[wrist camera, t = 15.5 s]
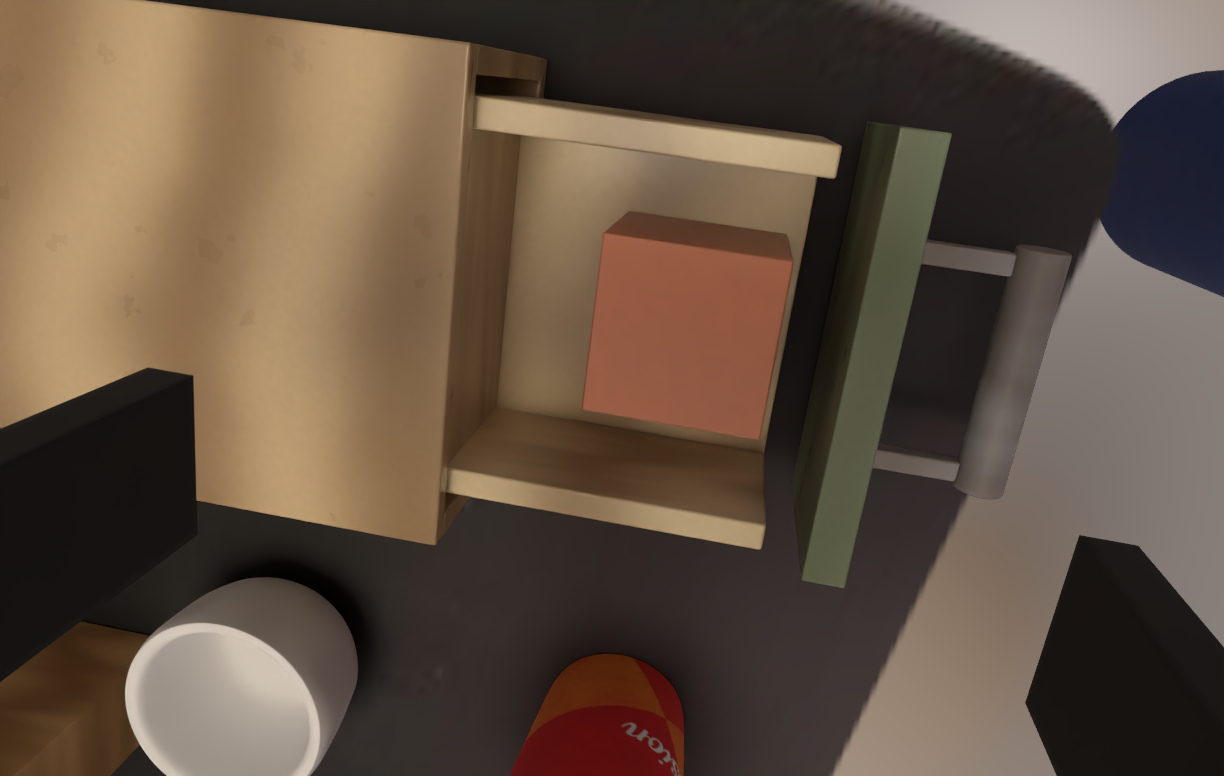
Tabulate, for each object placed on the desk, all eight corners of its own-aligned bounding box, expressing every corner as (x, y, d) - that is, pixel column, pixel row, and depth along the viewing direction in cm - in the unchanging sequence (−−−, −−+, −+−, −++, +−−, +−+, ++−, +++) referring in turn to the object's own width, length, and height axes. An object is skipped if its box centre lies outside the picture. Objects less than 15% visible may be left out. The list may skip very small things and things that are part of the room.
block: (787, 234, 28) (794, 260, 23) (758, 386, 29) (759, 441, 25) (628, 210, 28) (602, 231, 23) (608, 361, 30) (580, 410, 25)
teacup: (233, 519, 36) (148, 587, 31) (407, 599, 36) (349, 681, 31) (177, 702, 39) (91, 791, 34) (335, 777, 39) (272, 877, 34)
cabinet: (548, 59, 29) (470, 42, 21) (511, 441, 33) (435, 547, 25) (162, 8, 30) (-46, -25, 22) (174, 382, 35) (3, 464, 27)
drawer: (1049, 145, 27) (1140, 158, 20) (949, 511, 31) (1000, 617, 24) (509, 74, 28) (440, 65, 22) (480, 429, 32) (413, 508, 26)
